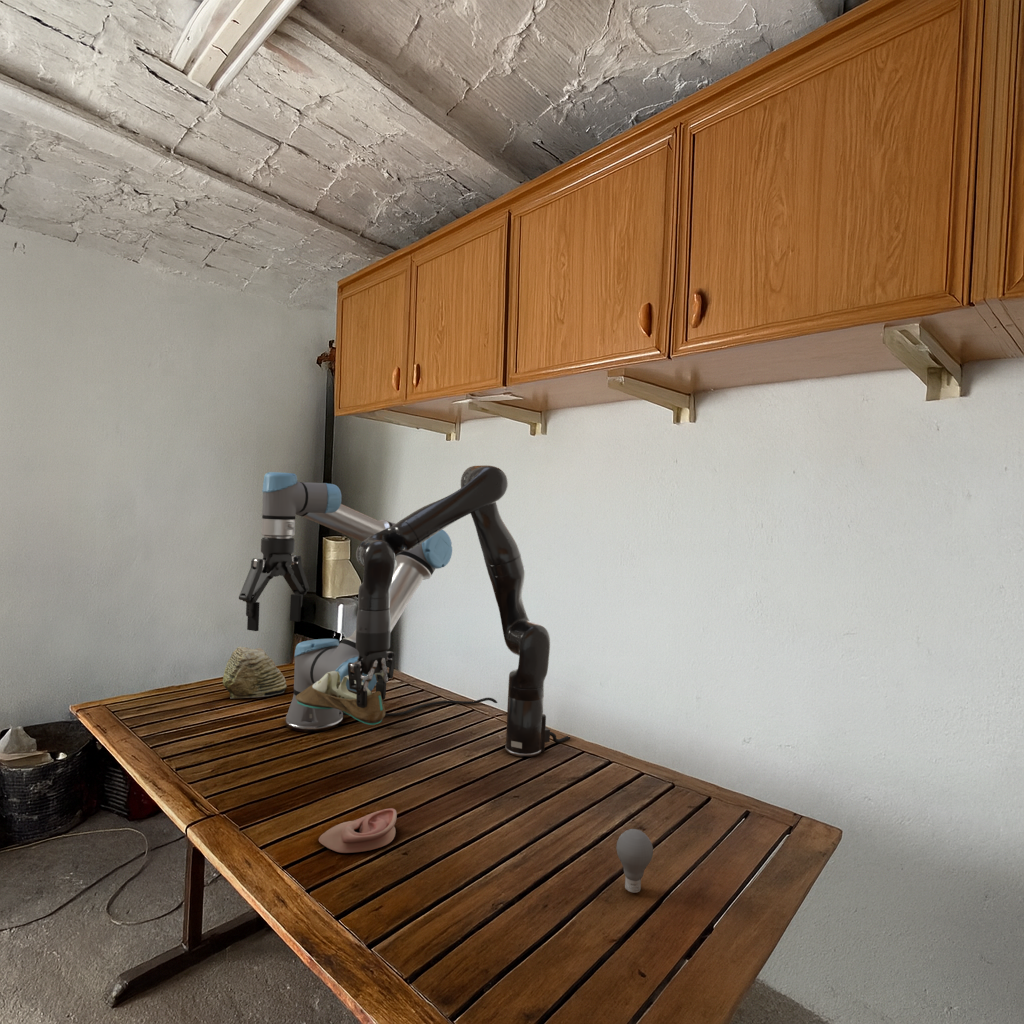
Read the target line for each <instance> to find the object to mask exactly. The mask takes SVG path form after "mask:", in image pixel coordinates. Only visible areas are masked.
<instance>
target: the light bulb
mask: <svg viewBox="0 0 1024 1024" xmlns="http://www.w3.org/2000/svg"><path fill="white" fill-rule="evenodd" d="M615 849H616V854H617V857H618V859H619V861H620V863H621V865H622V867H623V873H624V874H623V875H624V876H625V878H624V888H625V890H627V891H628V892H630V893H634V894H635V893H639V892H640V891H641V889H642V887H641V886H642V879H643V877H644V875H645V871H646V868H647V867H648V866H649V864H650V863H651V861H652V859H653V855H654V847H653V843H652V841H651V838H649V836H648V835H647V834H646V833H645V832H643V831H642V830H641V829H636V828H629V829H627V830H625V831H623V832H622V833H621V834H620V835H619V837H618V839H617V841H616V847H615Z"/></svg>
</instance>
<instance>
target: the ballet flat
mask: <svg viewBox="0 0 1024 1024" xmlns="http://www.w3.org/2000/svg"><path fill="white" fill-rule="evenodd" d="M347 678H348V680H349V676H345V677H344V678H343V680H342V682H341V684H340V674H339V672H336V671H331V672H328V673H326V674H325V675H324V676H323V677H322V678H321V679H320V680H319V681H317V682H316V683H314V684H312V685H311V686H310V687H308V688H307V689H305V690H304V691H302V692H301V693H299V694H298V695H297V696H296V700H297V703H298V704H300V705H303V706H306V707H310V708H316V709H332V708H336V709H339V710H341V711H342V712H344V713H346V714H348V715H349V717H351V718H353V719H354V720H356V721H358V722H360V723H363V724H364V725H367V726H376V725H378V724H380V723H382V722H383V719H384V718H385V717H386V716H385V713H386V707H385V704H384V700H382V697H381V692H380V691H377V692H376V691H374V692H372V691H370V690H369V689H368V687H367V690H366V691H367V707H365V708H361V707H358V706H357V704H356V699H357V698H356V695H357V692H355V691H351V690H348V689H347V687H346V681H347ZM354 682H355V684H356V681H355V680H354ZM362 685H363V682H362Z"/></svg>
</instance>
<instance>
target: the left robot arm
mask: <svg viewBox="0 0 1024 1024" xmlns="http://www.w3.org/2000/svg"><path fill="white" fill-rule="evenodd" d="M263 477H264V478H263V481H262V482H263V483H262V490H261V492H262V506H261V507H262V510H261V513H262V514H261V531H260V535H261V536H263V537H261V539H260V553H261V554H262V558H251V562H250V568H249V571H248V573H247V576H246V578H245V580H244V583H243V585H242V588H241V590H240V593H239V595H238V600H240V601H242V602H244V603H245V604H246V605H245V615H246V617H247V620H246V621H247V623H246V630H247V631H252V632H259V629H260V628H259V627H260V626H259V625H260V602H259V601H258V599H259V598H260V597H261V595H262V593H264V590H265V589H266V587H267V585H268V583H269V582H270V581H271V580H272V579H273V578H274V577H280V576H281V577H283V579H284V580H285V582H286V583H287V585H288V586H289V588H290V589H291V591H292V594H290V604H289V605H290V606H289V621H292V622H296V623H297V622H298V623H299V622H301V618H302V617H301V615H302V607H303V597H304V596H306V595H307V594H308V593H307V592H309V591H310V586H309V583H308V580H307V576H306V573H305V571H304V568H303V564H302V563H303V562H302V556H301V555H296V554H294V553H295V544H296V543H295V539H294V538H293V537H294V536H295V535H296V533H295V531H296V517H297V516H299V517H301V518H304V519H307V520H309V521H312V522H314V523H316V524H319V525H321V526H324V527H326V528H328V529H331V530H333V531H335V532H338V533H340V534H342V535H345V536H348V537H349V538H353V539H355V540H357V541H359V542H361V543H362V542H363V541H364V540H365V539H367V538H368V537H370V536H372V535H374V534H376V533H378V532H380V531H382V530H384V529H387V528H389V527H391V526H393V525H395V524H396V522H391V521H389V520H386V519H379V520H378V519H376V518H374V517H371V516H369V515H367V514H365V513H362V512H360V511H358V510H356V509H353V508H351V507H349V506H347V505H345V504H342V492H341V489H340V488H339V486H337V485H336V484H333V483H327V482H306V481H305V482H302V481H299V480H298V475H297V474H296V473H293V472H292V473H291V472H277V471H269V472H266V473H265V474H264V476H263ZM452 545H453V542H452V540H451V536H450V535H449V534H448V533H447V531H446V530H444V529H442V530H441V531H439V532H438V533H436V534H435V535H433V536H432V537H430V538H429V539H427V540H426V541H424V542H423V543H421V544H420V545H418V546H417V547H415V548H413V549H411V550H407V551H402V552H400V553H399V554H397V555H395V563H396V565H395V569H394V574H393V579H392V583H391V587H390V615H391V630H390V634H391V633H392V631H393V630H394V628H395V626H396V625H397V623H398V621H399V619H400V618H401V617H402V615H403V613H404V611H405V610H406V608H407V607H408V605H409V603H410V602H411V600H412V598H413V597H414V596H415V594H416V592H417V590H418V588H419V586H420V585H421V584H422V582H423V581H424V580H425V581H426V580H429V579H430V578H431V577H432V576H433V574H434V572H435V570H436V569H437V570H438V569H442V568H445V567H446V566H447V565H448V564H449V563H450V561H451V559H452V556H453V546H452ZM358 656H359V652H358V650H357V649H356V629H355V630H354V631H353V632H352V634H351V635H350V636H346V637H343V638H342V639H341V641H339V639H337V638H318V639H308V640H304V641H300V642H299V643H297V644H296V646H295V650H294V655H293V657H294V672H293V673H294V674H293V695H292V696H293V697H292V699H291V702H290V704H289V708H288V711H287V713H286V715H285V726H286V728H287V729H289V730H291V731H294V732H295V731H296V732H301V733H316V732H325V731H329V730H332V729H335V728H337V727H339V726H340V725H342V723H343V722H344V717H347V716H349V715H348V714H346V713H344V712H343V711H341V710H339V709H336V708H332V709H316V708H310V707H306V706H303V705H300V704H298V703H297V700H296V696H297V695H298V694H299V693H301V692H302V691H304V690H305V689H307V688H308V687H310V686H311V685H312V684H314V683H316V682H317V681H319V680H320V679H321V678H322V677H323V676H324V675H325V674H326V673H328V672H331V671H336V672H339V674H340V684H341V682H342V680H343V678H344V677H345V676H348V663H349V662H351V663H354V662H356V661H357V659H358ZM362 675H363V676H367V675H366V674H364V673H363V674H362ZM362 682H363V683H364V680H362ZM377 682H378V681H377V680H376V677H375V674H374V675H373V677H372V680H371V681H369V684H368V689H369V690H370V691H371V692H372V691H373V690H374V689H375V688H376V683H377ZM346 687H347V689H348V690H351V691H355V692H357V691H356V690H354V689H350V687H349V680H348V678H347V681H346ZM473 701H474V702H473ZM486 701H490V702H493V703H494V704H498V701H497V700H496V698H493V697H484V698H480V699H477V700H468V701H467V700H438V701H432V702H431V701H430V702H428V703H423V704H420V705H416V706H413V707H412V708H410V709H407V710H404V711H400V712H388V713H387V712H385V716H384V717H399V716H404V715H407V714H410V713H412V712H414V711H416V710H420V709H423V708H427V707H431V706H436V705H444V704H454V705H455V704H456V705H476V704H479V703H482V702H486ZM349 717H350V716H349Z"/></svg>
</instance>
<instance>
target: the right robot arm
mask: <svg viewBox="0 0 1024 1024" xmlns="http://www.w3.org/2000/svg"><path fill="white" fill-rule="evenodd" d="M508 486H509V481H508V476H507V475H506V473H505V472H504V471H503V470H502V469H501V468H499V467H497V466H494V465H472V466H469V467H468V468H466V469H465V470H464V471H463V473H462V475H461V478H460V488H459V489H458V490H456V491H454V492H452V493H450V494H448V495H447V496H445V497H443V498H441V499H438V500H436V501H433V502H431V503H429V504H427V505H424V506H422V507H420V508H418V509H416V510H415V511H413V512H411V513H410V514H409V515H406V516H405V517H404V518H402V519H401V520H399V521H398V522H395V525H393V526H391V527H389V528H387V529H384V530H382V531H380V532H378V533H376V534H374V535H372V536H370V537H368V538H367V539H365V540H364V541H363V542H362V541H361V542H360V544H359V545H358V546H357V548H356V551H355V558H356V561H357V562H358V564H359V565H360V566H361V567H362V568H363V578H362V579H363V580H362V582H361V583H360V585H359V587H358V592H357V593H358V594H357V595H358V597H357V612H356V618H355V620H356V621H355V622H356V623H355V624H356V625H355V630H356V649H357V650H358V652H359V656H358V659H357V661H356V662H354V663H351V662H349V663H348V676H349V687H350V689H354V690H356V691H357V695H356V698H357V699H356V704H357V706H358V707H361V708H365V707H367V691H366V690H367V687H368V684H369V681H371V680H372V677H373V675H374V674H375V677H376V680H377V683H376V685H375V692H377V691H380V692H381V697H382V700H383V701H384V700H386V695H387V684H388V682H389V680H390V679H393V677H394V671H395V663H396V656H397V655H396V654H397V653H396V652H395V651H390V648H391V633H390V630H391V615H390V587H391V583H392V579H393V574H394V569H395V567H396V560H395V555H397V554H399V553H400V552H402V551H407V550H411V549H413V548H415V547H417V546H418V545H420V544H421V543H423V542H424V541H426V540H427V539H429V538H430V537H432V536H433V535H435V534H436V533H438V532H439V531H441V530H444V529H446V528H447V527H449V526H450V525H452V524H454V523H455V522H458V520H461V519H462V518H464V517H466V516H468V515H470V516H471V518H472V521H473V523H474V527H475V530H476V535H477V539H478V542H479V545H480V548H481V552H482V556H483V560H484V564H485V567H486V570H487V574H488V577H489V580H490V583H491V587H492V590H493V594H494V598H495V600H496V604H497V608H498V611H499V618H500V623H501V627H502V629H501V630H502V636H503V639H504V642H505V646H506V647H507V649H508V650H509V652H511V653H512V654H514V655H516V656H518V665H517V668H516V669H515V668H514V669H512V670H511V671H510V672H509V674H508V685H507V688H508V689H507V711H506V730H505V731H506V733H505V746H504V747H505V748H504V749H505V752H506V753H507V754H509V755H512V756H513V757H514V756H515V757H519V758H531V757H535V756H536V757H537V756H539V755H540V754H541V753H545V749H546V748H545V747H546V743H550V742H551V737H552V740H553V742H554V743H556V744H561V743H564V742H567V741H569V740H571V736H570V737H568V736H569V735H566V736H564V737H562V738H557V735H556V733H554V732H553V731H551V729H550V728H548V727H547V725H546V724H547V715H546V713H544V696H545V680H546V677H547V675H548V672H549V663H550V656H551V636H550V632H549V631H548V629H547V628H546V627H545V626H544V625H542V624H539V623H536V622H533V621H530V618H529V617H528V614H527V610H526V607H525V604H524V599H523V596H524V595H523V594H524V587H525V583H526V569H525V565H524V561H523V560H524V559H523V556H522V553H521V550H520V546H519V545H518V543H517V541H516V539H515V537H514V536H513V535H512V533H511V532H510V530H509V529H508V527H507V525H506V524H505V521H504V520H503V519H502V516H501V514H500V511H499V507H498V504H497V502H498V501H500V500H501V499H502V498H503V497H504V496H505V495H506V493H507V491H508ZM363 673H364V674H366V675H367V676H363V675H362V674H363ZM354 680H355V681H356V684H355V682H354ZM362 680H364V683H363V685H362Z"/></svg>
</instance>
